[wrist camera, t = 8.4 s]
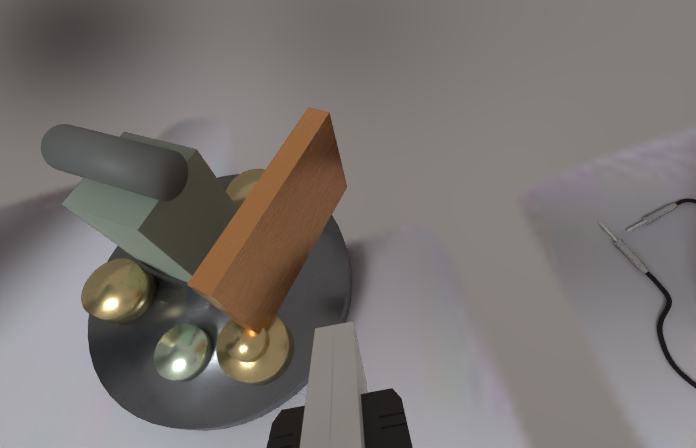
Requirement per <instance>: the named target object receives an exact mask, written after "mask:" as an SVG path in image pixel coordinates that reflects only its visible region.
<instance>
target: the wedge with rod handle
mask: <svg viewBox="0 0 696 448" xmlns="http://www.w3.org/2000/svg"><path fill="white" fill-rule="evenodd" d="M41 152H42V155H43V157H44V159H45V160H46V162H47V163H48V164H49V165H50V166H52V167H53V168H55V169H57V170H61V171H64V172H67V173H71V174H74V175H78V176H81V177H84V178H83V180H82V181H81V182H80V183H79V184H78V185H77V186H76V188H75V189H74V190H73V191H72V192H71V193H70V195H69V196H68V197H67V198H66V199H65V200H64V201H63V203H62V204H61V205H63V206H64V207H65V208H67V209H68V210H69V211H71V212H72V213H74V214H75V215H76V216H78V217H79V218H81V219H82V220H83V221H85V222H86V223H87V224H89V225H90V226H92V227H93V228H94V229H96V230H97V231H98V232H100V233H101V234H103V235H104V236H105V237H107V238H108V239H110V240H111V241H112V242H114V243H115V244H116V245H118V246H119V247H121V248H122V249H123V250H125V251H126V252H127V253H129V254H130V255H132V256H133V257H134V258H136V259H137V260H139V261H140V262H141V263H143V264H144V265H145V266H147V267H148V268H151V269H153V270H156V271H159V272H161V273H164V274H167V275H169V276H172V277H175V278H177V279H180V280H183V281H185V282H189V280H190V279H191V278H192V276H193V275H194V273H195V272H196V270H197V269H198V267H199V266H200V264H201V263H202V262H203V260H204V259H205V257H206V256H207V254H208V253H209V251H210V250H211V249H212V247H213V246H214V244H215V243H216V241H217V240H218V238H219V237H220V235H221V234H222V233H223V231H224V230H225V228H226V227H227V225H228V224H229V222H230V221H231V219H232V218H233V217H234V215H235V214H236V212H237V211H238V208H237V207H236V205H235V204H234V202H233V201H232V199H231V198H230V197H229V195H228V194H227V192H226V191H225V189H224V188H223V187H222V185H221V184H220V182H219V181H218V179H217V178H216V176H215V175H214V174H213V172H212V171H211V169H210V168H209V166H208V165H207V164H206V162H205V161H204V159H203V158H202V156H201V155H200V153H199V152H198V151H197V149H193V148H189V147H185V146H181V145H176V144H172V143H168V142H164V141H160V140H156V139H151V138H147V137H143V136H139V135H135V134H131V133H127V132H124V133H123V134H122V135H121V136H120V137H117V136H113V135H108V134H105V133H101V132H97V131H93V130H88V129H84V128H80V127H76V126H72V125H68V124H61V125H57V126H55V127H52V128H51V129H50V130H49V131H47V133H46V134H45V135H44V137H43V139H42V142H41Z"/></svg>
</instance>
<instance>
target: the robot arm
mask: <svg viewBox="0 0 696 448" xmlns="http://www.w3.org/2000/svg"><path fill="white" fill-rule="evenodd" d="M267 448H412V443H411V439H410V435H409V430H408V426H407V421H406V417H405V412H404V408H403V403H402V399H401V397H400V396H399V395H398V394H397V393H396V392H395V391H394V390H393V389H392V388H391V389H386V390H381V391H375V392H370V393H367V383H366V378H365V373H364V369H363V364H362V359H361V355H360V350H359V346H358V341H357V336H356V332H355V327H354V322H353V321H352V322H346V323H341V324H336V325H331V326H326V327H320V328H315V333H314V341H313V349H312V356H311V364H310V372H309V379H308V387H307V395H306V402H305V406H301V407H295V408H290V409H285V410H281V412H280V413H279V415H278V416H277V417H276V419H275V420H274V422H273V423H272V427H271V431H270V435H269V441H268V444H267Z"/></svg>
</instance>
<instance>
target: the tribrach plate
mask: <svg viewBox="0 0 696 448" xmlns="http://www.w3.org/2000/svg"><path fill="white" fill-rule="evenodd" d="M264 172H265V170H264V169H253V170H248V171H246V172H243V173H241V174H238V175H230V176H223V177H219V178H217V179H218V181H219V182H220V184H221V185H222V187H223V188H224V189H225V191H226V192H227V194H228V195H229V197H230V198H231V199H232V201H233V202H234V204H235V205H236V207H237V208H238V209H239V208H240V206H241V205H242V204H243V202H244V201H245V199H246V198H247V196H248V195H249V193H250V192H251V190H252V189H253V188H254V186H255V185H256V183H257V182H258V180H259V179H260V177H261V176H262V174H263V173H264ZM187 283H188V282H185V281H183V280H180V279H177V278H175V277H172V276H169V275H167V274H164V273H161V272H159V271H156V270H153V269H151V268H148V267H147V266H145V265H144V264H143V263H141V262H140V261H139V260H137V259H136V258H134V257H133V256H132V255H130V254H129V253H127V252H126V251H125V250H123V249H122V248H121V247H119V246H117V248H116V249H115V251H114V252H113V253H112V255H111V256H110V258H109V260H108V262H107V263H105V264H103V265H102V266H100V267H99V268H98V269H97V270H95V271H94V272H93V273H92V275H91V276H90V277H89V278H88V280H87V281H86V283H85V285H84V288H83V291H82V295H81V301H82V305H83V307H84V309H85V310H86V311H87V312H88V313H89V319H88V341H89V350H90V355H91V358H92V362H93V366H94V369H95V371H96V373H97V375H98V377H99V379H100V382H101V383H102V385H103V386H104V388H105V389H106V390H107V392H108V393H109V395H110V396H111V397H112V398H113V399H114V400H115V401H116V402H117V403H118V404H119V405H120V406H121V407H123V408H124V409H126V410H127V411H129V412H130V413H132V414H133V415H135V416H136V417H138V418H141V419H143V420H146V421H148V422H150V423H153V424H157V425H161V426H166V427H170V428H178V429H185V430H202V431H207V430H217V429H225V428H229V427H233V426H237V425H241V424H244V423H247V422H249V421H252V420H254V419H257V418H259V417H262V416H264V415H265V414H267V413H269V412H271V411H272V410H274V409H276V408H278V407H279V406H281V405H282V404H284V403H285V402H286V401H288V400H289V399H290V398H292V397H293V396H294V395H296V394H297V393H298V392H299V391H300V390H301V389H302V388H303V387H304V386H305V385H306V384H307V383H308V379H309V372H310V364H311V356H312V349H313V341H314V333H315V328H320V327H326V326H331V325H336V324H341V323H345V321H346V318H347V315H348V310H349V305H350V300H351V289H352V276H351V265H350V261H349V257H348V252H347V249H346V246H345V242H344V239H343V237H342V234H341V232H340V229H339V227H338V225H337V223H336V221H335V220H334V218H333V216H332V215H331V217H330V218H329V220H328V222H327V224H326V226H325V227H324V229H323V231H322V233H321V235H320V236H319V238H318V240H317V242H316V244H315V245H314V247H313V249H312V251H311V253H310V254H309V256H308V258H307V260H306V262H305V263H304V265H303V267H302V269H301V271H300V272H299V274H298V276H297V278H296V279H295V281H294V283H293V285H292V287H291V288H290V290H289V292H288V294H287V296H286V297H285V299H284V301H283V303H282V305H281V306H280V308H279V310H278V312H277V314H276V315H277V316H278V317H279V318H280V319H281V320H282V321H283V323H284V324H285V325H286V326H287V327H288V328H289V330H290V331H291V333H292V336H293V339H294V354H293V358H292V361H291V363H290V365H289V367H288V368H287V370H286V371H285V372H284V374H283V375H282V376H281V377H279V378H278V379H277V380H275V381H274V382H272V383H270V384H267V385H263V386H251V385H247V384H245V383H243V382H240V381H238V380H236V379H234V378H231V377H230V376H228V375H227V374H226V373H225V372H224V371H223V370H222V369H221V367H220V365H219V363H218V360H217V355H216V346H217V340H218V337H219V335H220V332H221V330H222V329H223V327H224V326H225V324H226V323H227V322H228V321H229V320H230V318H229V317H228V316H227V315H225V314H224V313H223V312H221V311H220V310H219V309H217V308H216V307H215V306H214V305H212V304H211V303H210V302H208V301H207V300H206V299H204V298H203V297H202V296H201V295H199V294H198V293H197V292H195V291H194V290H193V289H192V288H190V287H189V286H188V285H187Z"/></svg>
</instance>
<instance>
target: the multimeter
mask: <svg viewBox="0 0 696 448" xmlns="http://www.w3.org/2000/svg"><path fill="white" fill-rule="evenodd" d="M685 202H694V203H696V200H695V199H683V200H680V201H678V202H676V203H672V204H669V205H667V206H665V207H663V208H661V209H659V210H658V211H656V212H654V213H652V214H650V215H649V216H645V217H643V221H642V222H640V223H638V224H636V225H634V226H632V227H631V228H629V229H628V230H627V231H626V232H628V231H631V230H633V229H635V228H636V227H638V226H640V225H642V224H644V223H646V224H650V223H651V222H652V221H653V220H655V219H657V218H659V217H661V216H663V215H664V214H666V213H668V212H670V211H672V210H673V209H674V208H676V207H677V205H680V204H682V203H685ZM598 222H599V221H598ZM599 224H600V225H601V226H602V227H603V229H604V230H605V231H606V232H607V233H608V234H609V235H610V236H611V237H612V238H613V239H614V240H615V241H616V242H615V243H614V245H616V246H617V247H618V248H619V249H620V250H621V251H622V252H623V253H624V254H625V255H626V256H627V257H628V258H629V260H630V261H631V262H632V263H633V264H634V265H635V266H636V267H637V268H638V269H639V270H640V271H642V272H643V273H645V274H646V275H647V276H648V277H649V278H650V279H651V280H652V281H653V282H654V283H655V284H656V285H657V287H658V288H659V289H660V290H661V291H662V292H663V294H664V295H665V297H666V299H667V304H666V307H665V309H664V311H663V313H662V314H661V316H660V318H659V321H658V325H657V333H658V337H659V341H660V344H661V347H662V350H663V352H664V355H665V357H666V359H667V360H668V362H669V363H670V365H671V366H672V367H673V369H674V370H675V371H676V372H677V373H678V374H679V375H680V376H681V377H682V378H683V379H684V380H686V381H687V382H688V383H689V384H691V385H692V386H693V387H695V388H696V383H695V382H694V381H692V380H691V379H690V378H689V377H688V376H687V375H685V374H684V373H683V372H682V371H681V370H680V369H679V368H678V366H677V365H676V364H675V363H674V361H673V359H672V358H671V356H670V354H669V352H668V350H667V347H666V344H665V341H664V337H663V332H662V326H663V322H664V319H665V317H666V315H667V313H668V312H669V310H670V308H671V305H672V300H671V297H670V295H669V293H668V292H667V290H666V289H665V288H664V287H663V286H662V285H661V284H660V283H659V281H658V280H657V279H656V278H655V277H654V276H653V275H652V274H651V273H650V272H649V270H648V269H647V267H646V266H645V265H644V263H643V262H642V261H641V260H640V259H639V258H638V257H637V256H636V255H635V254H634V253H633V252H632V251H631V250H630V249H629V248H628V247H627V246H626V244H625V243H624V242H623V240H622V239H620V240H618V239H617V238H616V237H615V236H614V235H613V234H612V233H611V232H610V231H609V230H608V229H607V228H606V226H605V225H604V224H602V223H601V222H599Z"/></svg>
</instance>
